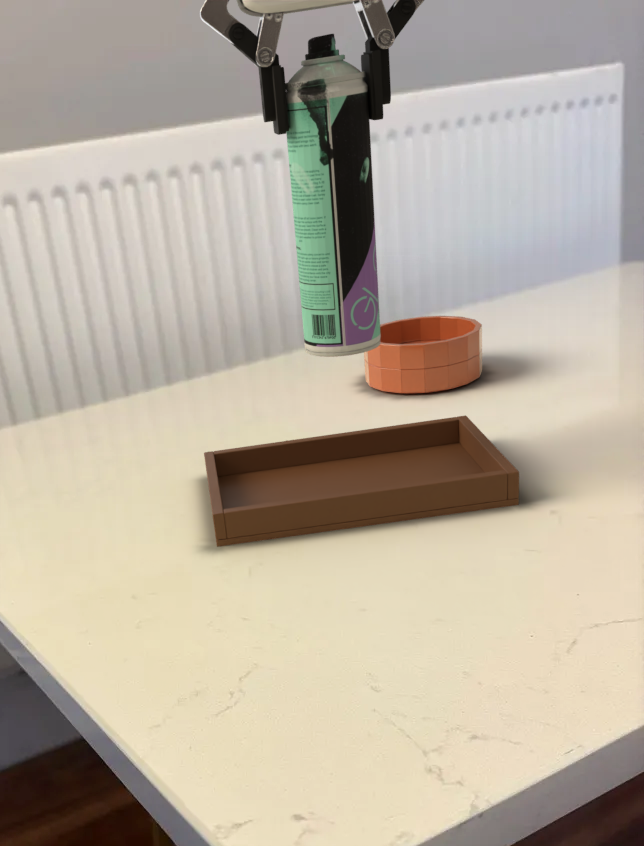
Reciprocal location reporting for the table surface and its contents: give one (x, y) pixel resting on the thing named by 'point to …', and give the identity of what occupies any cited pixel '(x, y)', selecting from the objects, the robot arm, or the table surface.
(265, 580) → the table surface
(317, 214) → the spray can
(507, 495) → the tray
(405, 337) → the bowl
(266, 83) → the robot arm
